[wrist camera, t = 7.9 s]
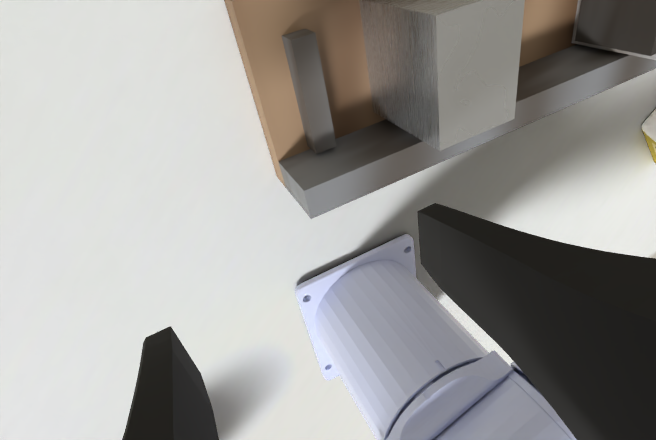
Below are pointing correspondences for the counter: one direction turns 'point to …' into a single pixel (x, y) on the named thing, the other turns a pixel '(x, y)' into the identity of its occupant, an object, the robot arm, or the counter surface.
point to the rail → (355, 97)
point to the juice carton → (650, 133)
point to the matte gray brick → (443, 64)
